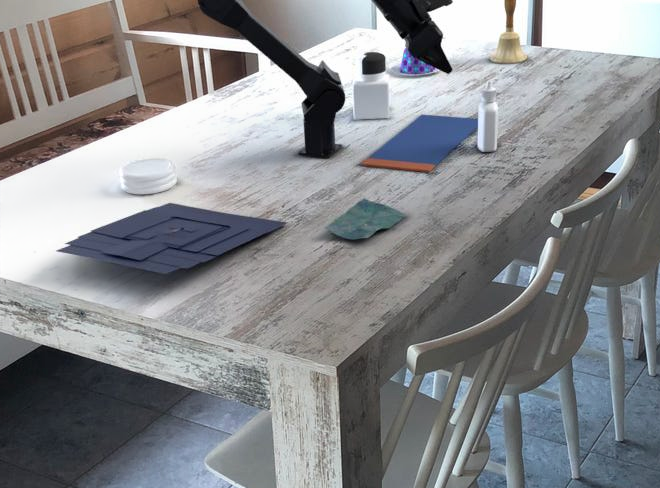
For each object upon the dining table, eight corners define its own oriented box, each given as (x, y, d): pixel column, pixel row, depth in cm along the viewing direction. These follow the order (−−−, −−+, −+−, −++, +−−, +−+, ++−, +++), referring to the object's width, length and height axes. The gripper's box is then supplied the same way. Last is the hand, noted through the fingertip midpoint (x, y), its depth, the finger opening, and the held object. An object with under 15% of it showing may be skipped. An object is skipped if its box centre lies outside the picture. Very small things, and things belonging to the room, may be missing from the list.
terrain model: (364, 208, 169) (364, 197, 168) (407, 217, 165) (407, 206, 164) (323, 237, 160) (323, 226, 159) (367, 248, 156) (367, 236, 155)
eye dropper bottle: (469, 151, 189) (471, 84, 182) (481, 141, 193) (483, 76, 186) (492, 154, 187) (495, 86, 180) (504, 144, 191) (506, 78, 184)
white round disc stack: (126, 199, 181) (123, 179, 180) (117, 181, 190) (115, 162, 188) (182, 189, 183) (179, 170, 181) (171, 172, 192) (169, 153, 190)
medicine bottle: (389, 108, 215) (388, 48, 209) (389, 118, 209) (388, 57, 203) (354, 109, 216) (352, 50, 210) (353, 120, 210) (351, 59, 204)
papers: (47, 266, 156) (44, 243, 154) (169, 218, 178) (168, 197, 177) (177, 295, 144) (176, 270, 142) (290, 239, 167) (290, 217, 165)
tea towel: (429, 172, 181) (429, 170, 181) (360, 165, 187) (360, 163, 187) (484, 121, 203) (484, 119, 203) (421, 116, 209) (421, 114, 209)
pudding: (382, 69, 241) (382, 46, 239) (430, 61, 244) (430, 38, 241) (403, 81, 232) (403, 57, 229) (452, 73, 234) (453, 49, 231)
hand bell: (512, 65, 236) (515, -9, 227) (482, 60, 241) (485, -12, 233) (534, 57, 240) (538, -16, 232) (504, 52, 246) (507, -19, 237)
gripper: (436, -26, 170) (493, 46, 177) (420, -44, 186) (472, 22, 192) (384, 22, 174) (441, 91, 180) (372, 0, 190) (425, 64, 196)
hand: (446, 65), depth 187 cm, fingers open, 9 cm apart
